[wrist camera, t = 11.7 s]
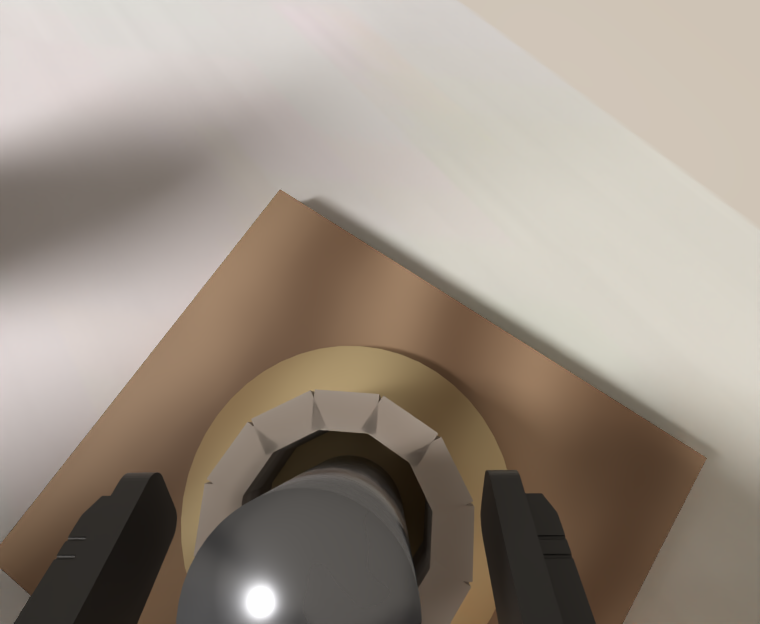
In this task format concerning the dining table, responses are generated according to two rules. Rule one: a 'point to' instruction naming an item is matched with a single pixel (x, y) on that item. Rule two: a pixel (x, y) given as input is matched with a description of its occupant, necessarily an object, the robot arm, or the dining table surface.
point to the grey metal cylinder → (309, 554)
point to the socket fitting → (366, 423)
